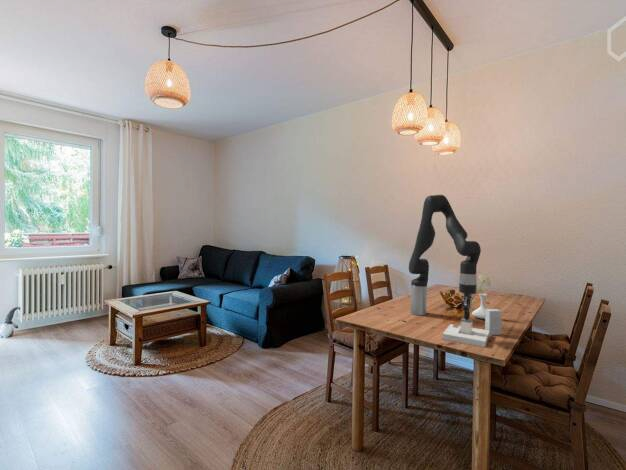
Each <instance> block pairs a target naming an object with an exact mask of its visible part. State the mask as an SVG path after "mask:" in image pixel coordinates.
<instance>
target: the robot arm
mask: <svg viewBox="0 0 626 470" xmlns="http://www.w3.org/2000/svg"><path fill="white" fill-rule="evenodd" d="M434 213H442V215H444V217H445V229H446V231H447V232H448V234H449V235H450V237H451V238H452V240H453V243H454V246H455V249H456V251H457V253H458V254H459V255H460V256H463V257H466V258H465V260H463V261H461V262H460V264H459V266H460V267H459V279H458V280H459V281H458V282H459V283H458V284H459V286H458V291H459V293H461V294H463V296H462V299H461V300H462V302H461V303H462V310H463V312H464V314H463V318H465V319H471V309H472V306H473V305H472V304H473V303H472V302H473V299H474V297H473V296H472V295H475V294H477V289H478V288H477V285H478V282H477V281H478V279H477V265H478V264H479V263H478V262H479V259H480V256H481V252H482V250H481V245H480V244H479V242H478V241H475V240H467V238H468V232H467V231H466V230H465V228H464V227H463V225H462V224H461V223H460V221H459V220H458V218H457V217H456V214H455V212H454V210H453V208H452V206H451V203H450V201H449V200H448V198H447V197H446V196H445V195H444V194H435V195H434V194H433V195H432V194H431V195H427V196H426V197H425V199H424V202H423V205H422V214H421V219H420V224H419V228H418V231H417V236H416V239H415V245H414V248H413V251H412V253H411V257H410V260H409V263H408V272H409V273H410V274H412V275H419V276H417V277H415V278H413V279H412V280H411V284H410V287H411V288H410V314H411V315H415V316H425V315H427V314H428V313H427V311H428V310H427V309H428V307H427V305H428V301H427V300H428V282H429V270H430V265H429V261H428V259H426V258H421V257H422V256H423V254H424V253H425V252H426V251H428V250H429V249H430V247H432V246H433V244H434V241H435V236H436V229H435V227H434V225H433V223H432V222H433V221H432V219H433V215H434Z"/></svg>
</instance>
